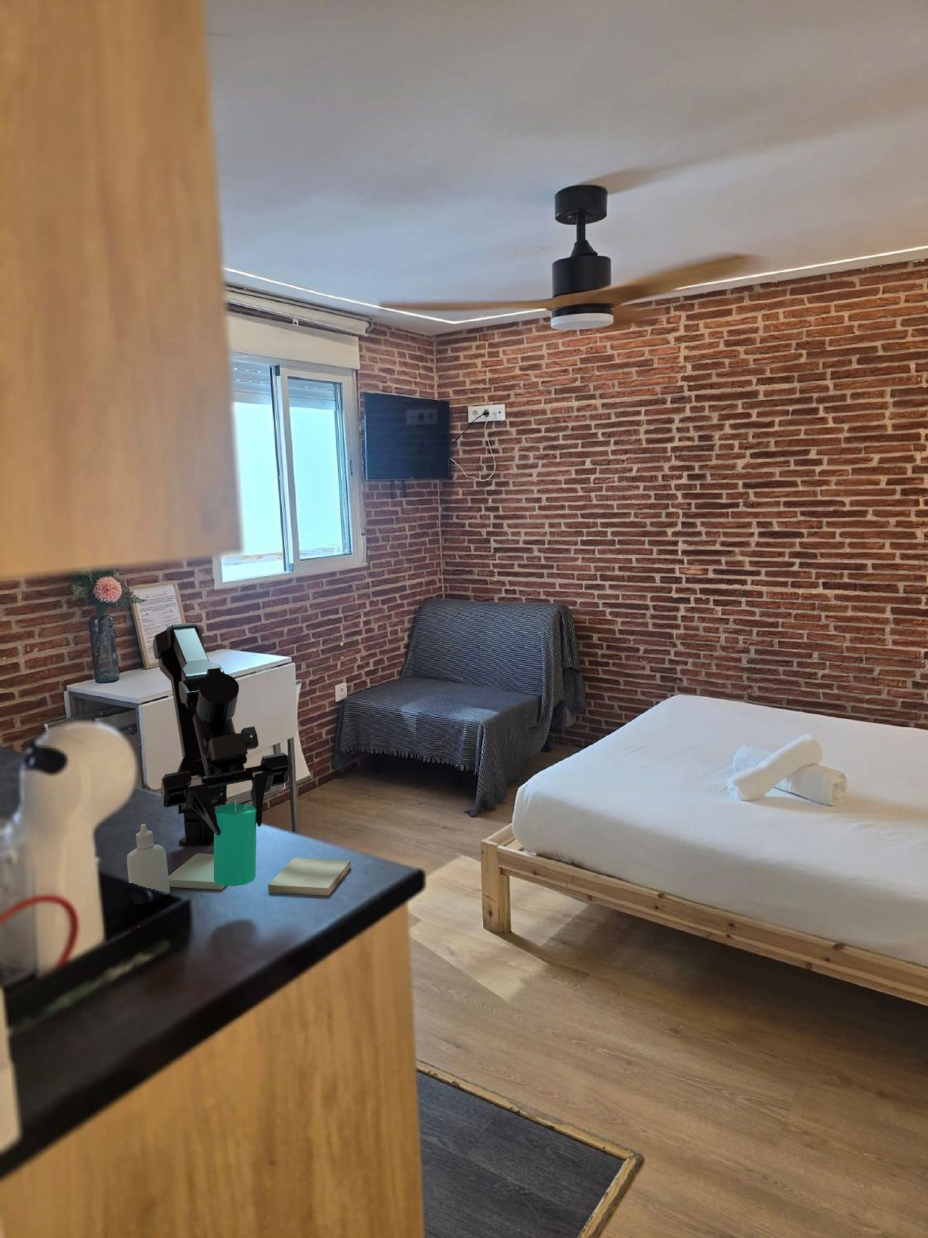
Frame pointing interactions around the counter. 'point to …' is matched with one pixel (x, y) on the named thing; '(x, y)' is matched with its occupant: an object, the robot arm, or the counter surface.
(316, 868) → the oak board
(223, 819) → the candle
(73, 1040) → the counter surface
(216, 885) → the sage tile
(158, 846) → the eye dropper bottle
